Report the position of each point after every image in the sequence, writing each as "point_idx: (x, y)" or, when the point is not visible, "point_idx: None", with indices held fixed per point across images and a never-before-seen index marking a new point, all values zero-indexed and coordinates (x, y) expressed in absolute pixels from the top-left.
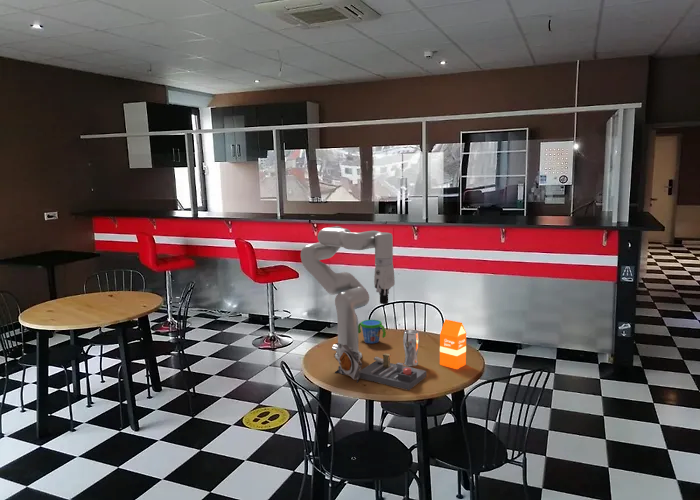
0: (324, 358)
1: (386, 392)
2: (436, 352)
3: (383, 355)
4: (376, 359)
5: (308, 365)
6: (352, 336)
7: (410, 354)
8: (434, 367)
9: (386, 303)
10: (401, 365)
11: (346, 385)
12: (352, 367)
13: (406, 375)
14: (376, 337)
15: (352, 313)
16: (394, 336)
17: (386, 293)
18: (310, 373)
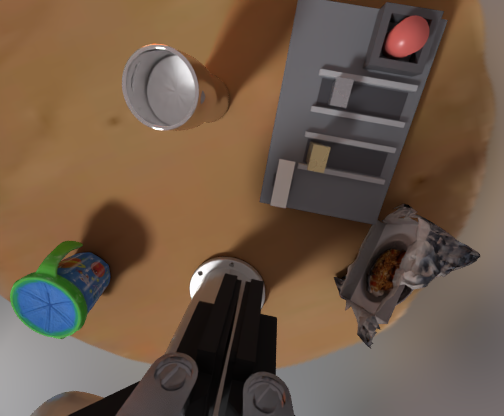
0: None
1: (466, 97)
2: (67, 45)
3: (324, 169)
4: (287, 198)
5: (321, 353)
6: (234, 320)
7: (218, 90)
8: (203, 3)
9: (259, 282)
10: (352, 82)
11: None
12: (399, 242)
13: (434, 32)
14: (87, 262)
15: (215, 407)
16: (16, 224)
17: (197, 385)
18: None
